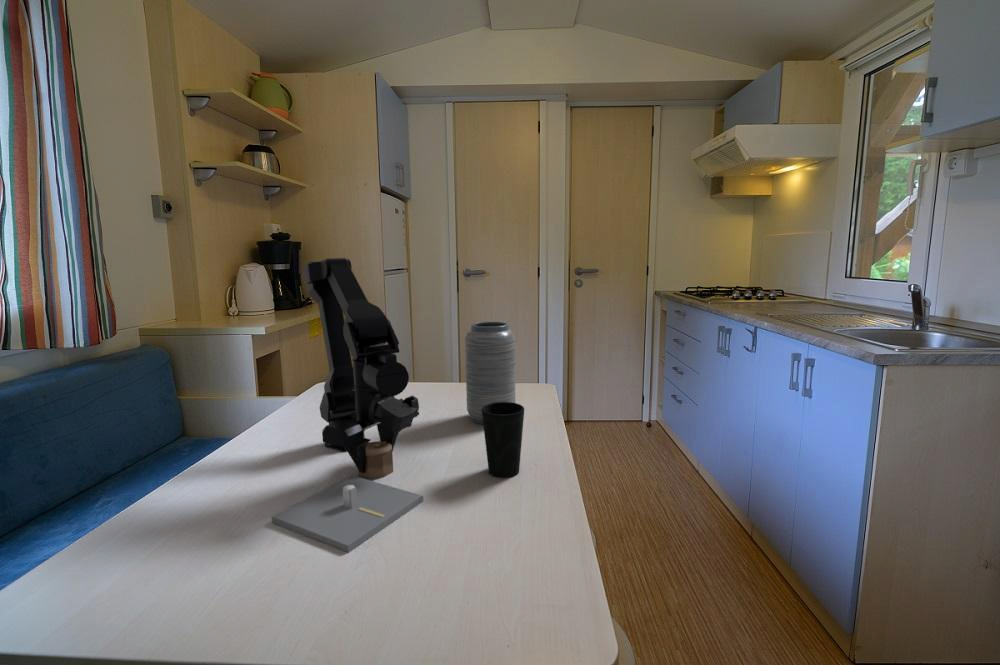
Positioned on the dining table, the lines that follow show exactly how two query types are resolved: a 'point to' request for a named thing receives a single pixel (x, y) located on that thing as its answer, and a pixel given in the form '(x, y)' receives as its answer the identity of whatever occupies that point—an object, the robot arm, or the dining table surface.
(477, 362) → the vase
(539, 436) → the dining table surface
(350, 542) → the base plate
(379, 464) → the knob
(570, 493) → the dining table surface
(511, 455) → the cup
